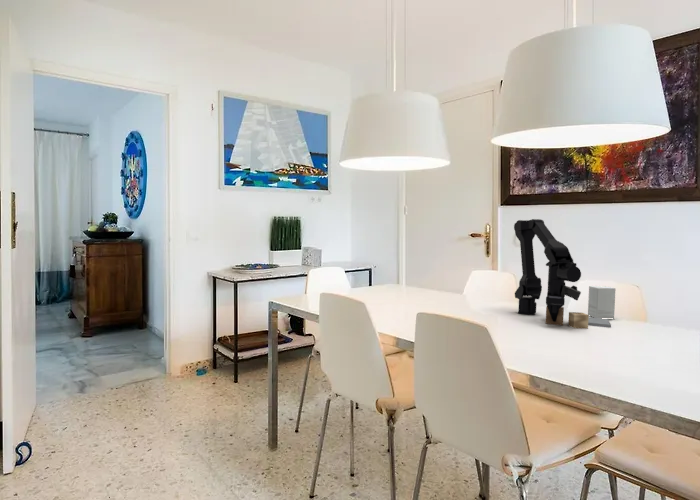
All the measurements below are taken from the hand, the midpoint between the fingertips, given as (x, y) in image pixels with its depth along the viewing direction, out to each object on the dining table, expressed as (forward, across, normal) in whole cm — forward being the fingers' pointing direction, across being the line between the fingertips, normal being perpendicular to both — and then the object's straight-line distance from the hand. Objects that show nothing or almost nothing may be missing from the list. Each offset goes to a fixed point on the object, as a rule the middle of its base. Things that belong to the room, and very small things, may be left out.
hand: (554, 319), depth 177 cm
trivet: (+1, +8, -13) cm, 15 cm away
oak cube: (+1, -3, -8) cm, 9 cm away
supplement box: (+2, +22, -17) cm, 28 cm away
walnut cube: (+1, 0, 0) cm, 1 cm away
